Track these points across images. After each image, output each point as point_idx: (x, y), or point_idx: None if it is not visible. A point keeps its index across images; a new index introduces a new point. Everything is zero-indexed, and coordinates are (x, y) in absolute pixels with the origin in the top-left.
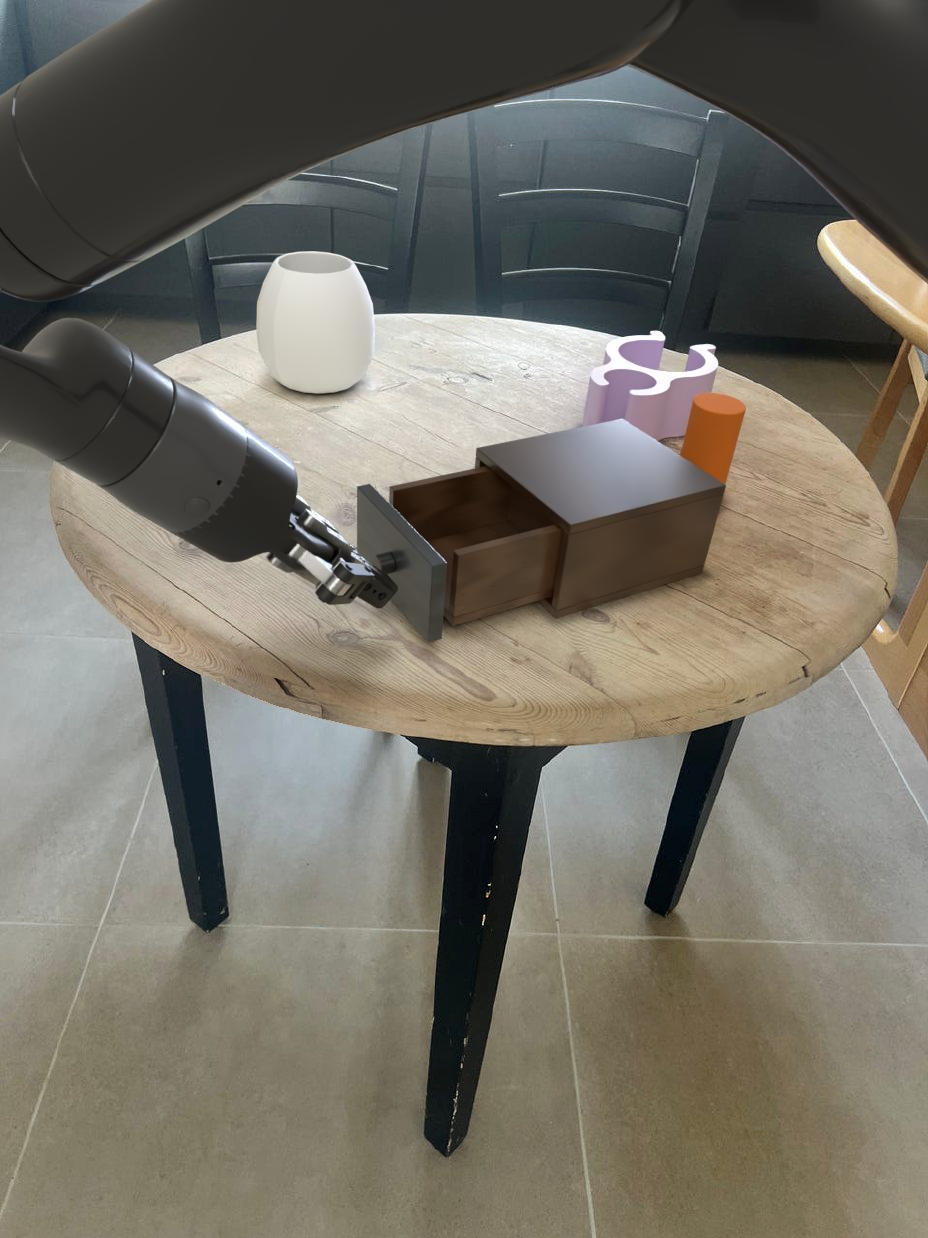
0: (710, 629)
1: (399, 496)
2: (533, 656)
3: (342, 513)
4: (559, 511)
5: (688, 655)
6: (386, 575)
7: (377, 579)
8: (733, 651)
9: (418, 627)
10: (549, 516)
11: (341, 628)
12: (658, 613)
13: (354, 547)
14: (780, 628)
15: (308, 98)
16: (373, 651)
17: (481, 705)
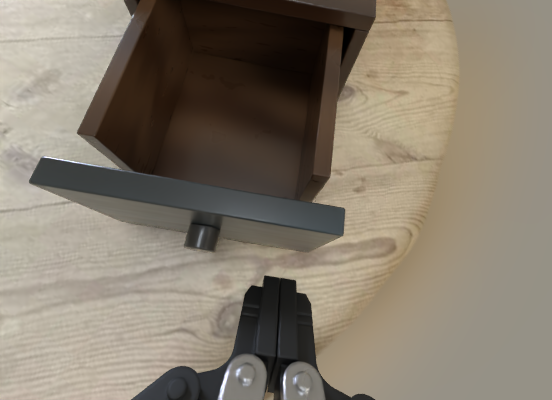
0: (400, 43)
1: (107, 134)
2: (361, 172)
3: (18, 168)
4: (338, 4)
5: (419, 77)
6: (275, 288)
7: (298, 327)
8: (429, 51)
9: (286, 248)
10: (321, 20)
11: (213, 311)
12: (365, 55)
13: (246, 363)
14: (422, 9)
15: None
16: None
17: (398, 259)
